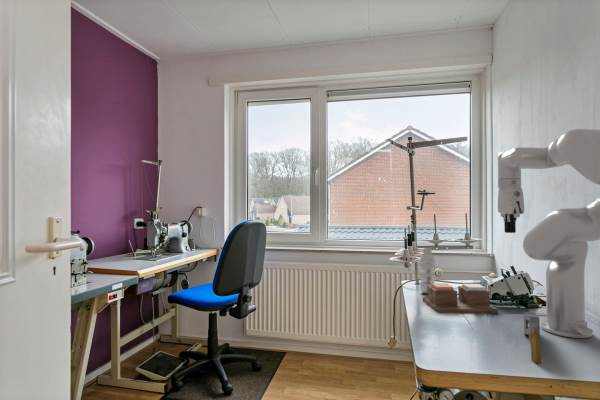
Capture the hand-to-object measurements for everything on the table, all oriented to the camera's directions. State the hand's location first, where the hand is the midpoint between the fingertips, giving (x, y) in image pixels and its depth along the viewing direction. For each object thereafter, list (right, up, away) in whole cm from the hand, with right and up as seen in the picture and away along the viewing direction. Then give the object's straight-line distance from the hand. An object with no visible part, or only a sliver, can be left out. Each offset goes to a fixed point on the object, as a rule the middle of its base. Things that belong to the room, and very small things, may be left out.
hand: (510, 232), depth 129 cm
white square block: (-12, -26, +4) cm, 29 cm away
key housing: (-18, -29, +4) cm, 34 cm away
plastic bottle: (-22, -30, +24) cm, 44 cm away
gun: (-14, -29, -34) cm, 47 cm away
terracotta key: (-24, -26, +4) cm, 36 cm away
